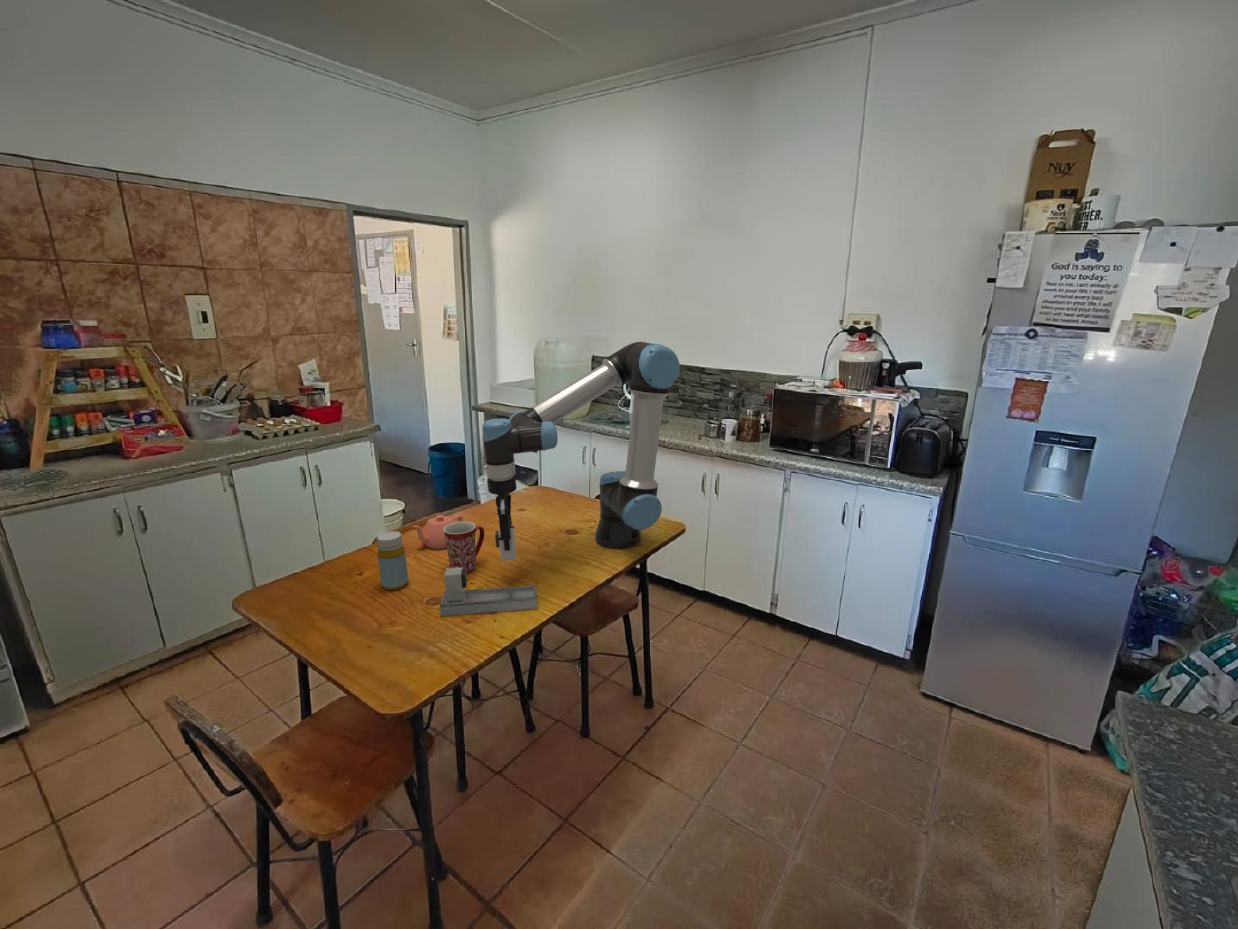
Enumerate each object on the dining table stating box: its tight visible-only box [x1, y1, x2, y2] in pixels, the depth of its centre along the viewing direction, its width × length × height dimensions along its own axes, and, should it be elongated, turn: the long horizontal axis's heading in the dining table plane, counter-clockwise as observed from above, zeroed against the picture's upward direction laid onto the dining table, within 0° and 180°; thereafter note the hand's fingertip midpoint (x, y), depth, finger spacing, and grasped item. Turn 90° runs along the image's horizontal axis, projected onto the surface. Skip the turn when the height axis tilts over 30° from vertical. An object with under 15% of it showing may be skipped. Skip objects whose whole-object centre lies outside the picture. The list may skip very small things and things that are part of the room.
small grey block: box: [494, 527, 517, 562], centre depth 155 cm, size 5×4×8 cm
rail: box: [439, 567, 538, 617], centre depth 143 cm, size 24×7×10 cm, turn 99°
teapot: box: [411, 514, 464, 550], centre depth 181 cm, size 12×18×10 cm
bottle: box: [376, 530, 409, 592], centre depth 153 cm, size 7×7×15 cm
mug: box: [443, 521, 485, 575], centre depth 164 cm, size 13×9×14 cm
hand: (508, 555), depth 156 cm, fingers closed on small grey block, 4 cm apart
